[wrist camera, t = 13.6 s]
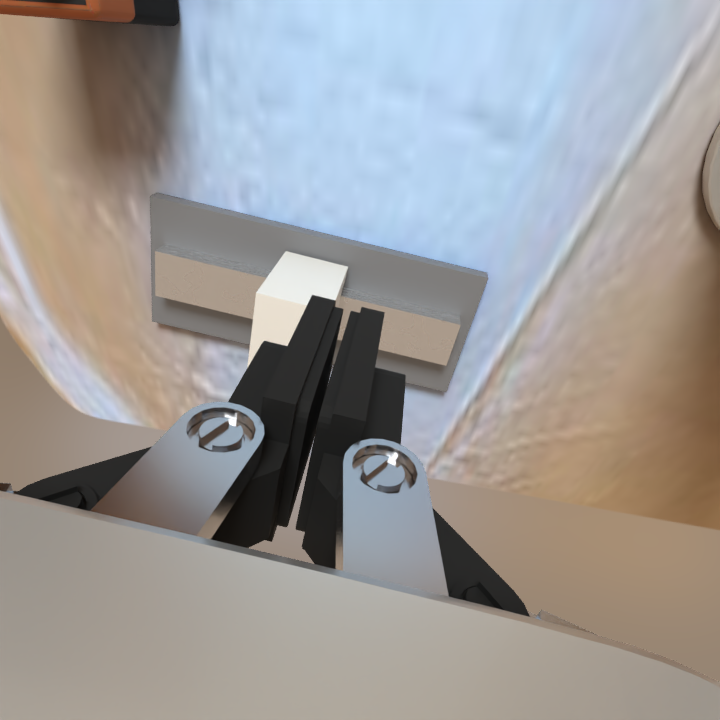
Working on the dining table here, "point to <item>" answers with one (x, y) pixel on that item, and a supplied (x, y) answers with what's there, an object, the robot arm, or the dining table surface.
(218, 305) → the rail
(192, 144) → the dining table surface
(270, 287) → the block
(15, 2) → the battery
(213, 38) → the dining table surface
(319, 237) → the mounting plate
